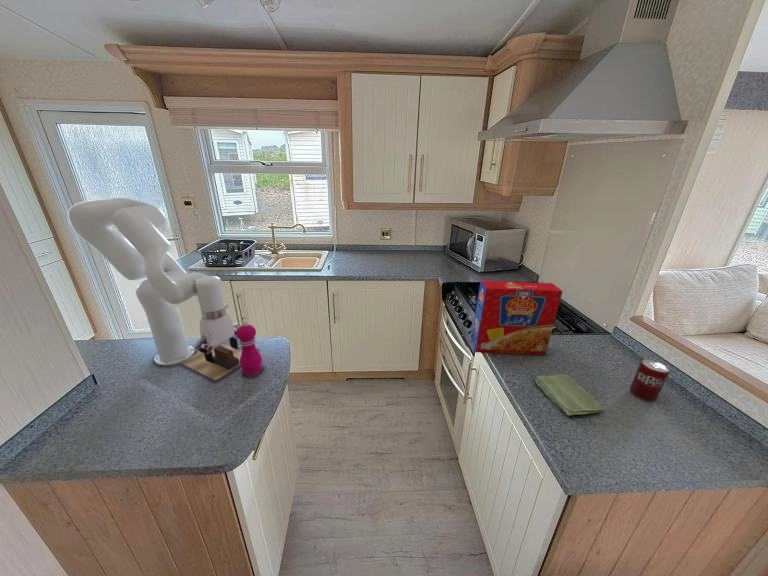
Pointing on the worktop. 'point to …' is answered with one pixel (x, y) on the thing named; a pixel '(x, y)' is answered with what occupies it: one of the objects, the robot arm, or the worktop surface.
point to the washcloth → (568, 395)
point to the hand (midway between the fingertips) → (222, 354)
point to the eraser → (224, 357)
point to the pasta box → (515, 317)
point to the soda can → (649, 380)
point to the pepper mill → (249, 350)
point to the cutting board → (208, 368)
